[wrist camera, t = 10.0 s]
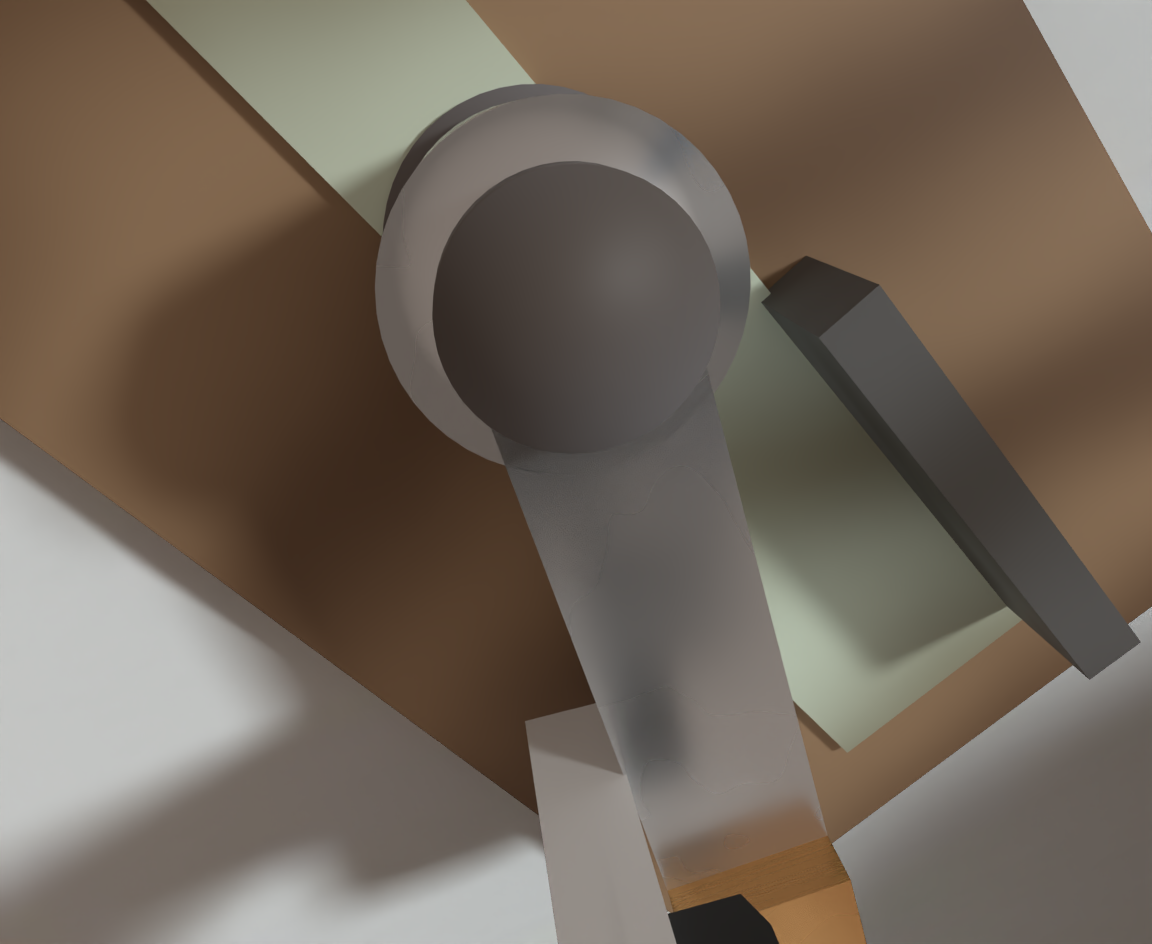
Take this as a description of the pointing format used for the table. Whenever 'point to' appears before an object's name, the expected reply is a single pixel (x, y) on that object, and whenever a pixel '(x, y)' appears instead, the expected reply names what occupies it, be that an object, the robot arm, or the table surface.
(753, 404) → the lock board
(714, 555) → the swing bar
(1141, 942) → the table surface
